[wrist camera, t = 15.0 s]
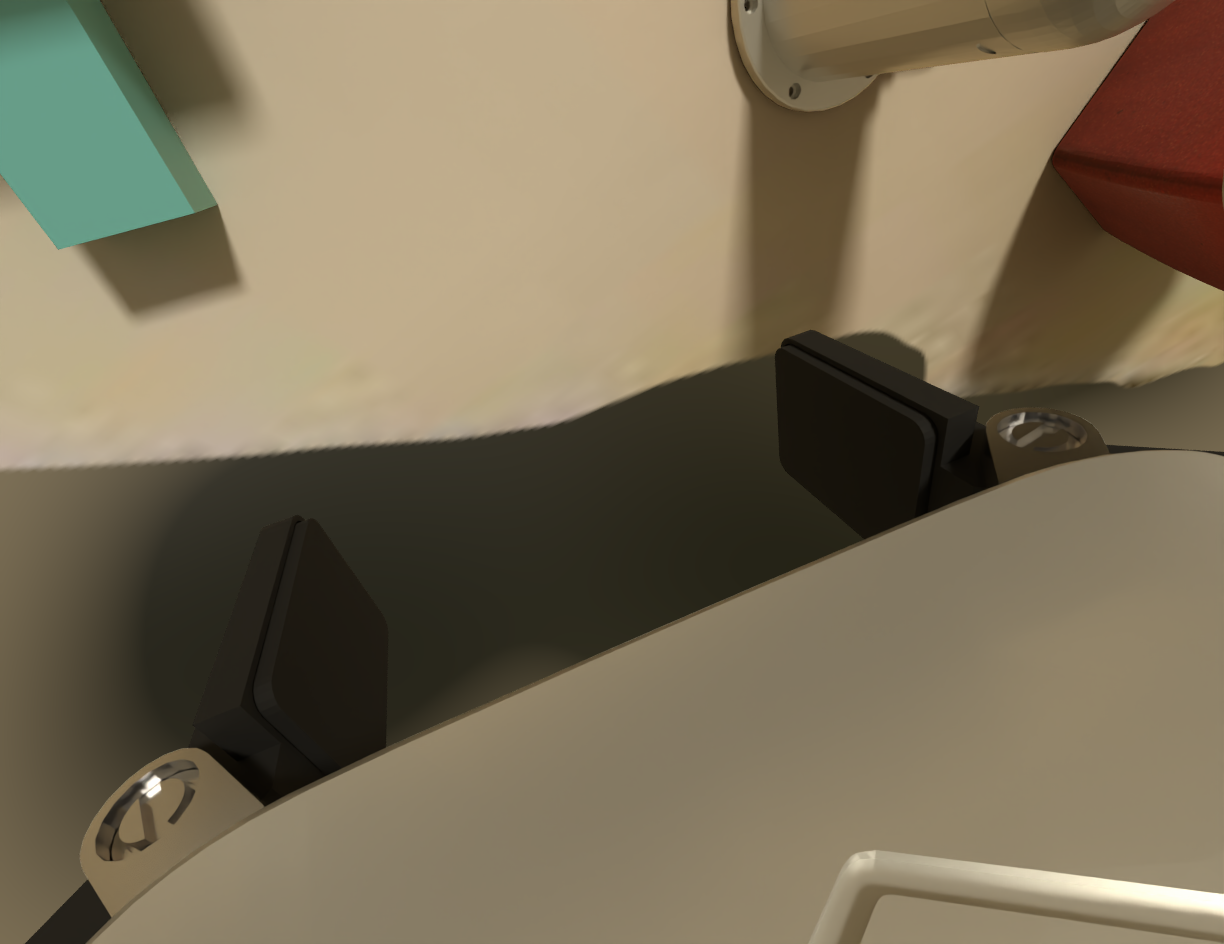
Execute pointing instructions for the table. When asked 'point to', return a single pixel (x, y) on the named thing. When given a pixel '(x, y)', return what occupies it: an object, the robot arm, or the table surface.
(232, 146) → the table surface
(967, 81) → the table surface
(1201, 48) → the plant pot
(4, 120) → the teal flat plank
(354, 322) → the table surface
